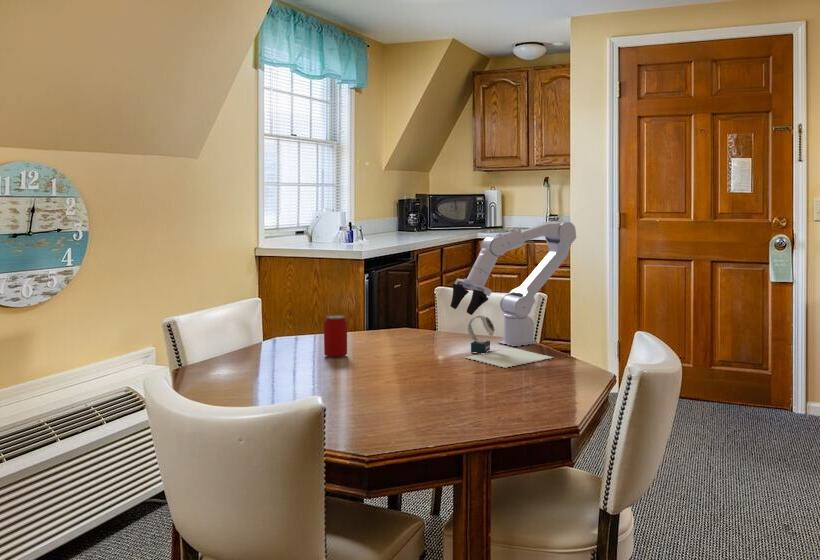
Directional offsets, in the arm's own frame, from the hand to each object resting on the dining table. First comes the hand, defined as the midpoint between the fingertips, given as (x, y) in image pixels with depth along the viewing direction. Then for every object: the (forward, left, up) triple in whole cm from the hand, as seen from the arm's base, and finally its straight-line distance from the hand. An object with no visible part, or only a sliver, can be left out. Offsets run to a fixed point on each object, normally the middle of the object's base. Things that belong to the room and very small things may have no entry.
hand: (460, 310), depth 226 cm
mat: (-2, +18, -12) cm, 22 cm away
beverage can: (+36, -16, -12) cm, 41 cm away
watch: (-2, +6, -12) cm, 14 cm away
